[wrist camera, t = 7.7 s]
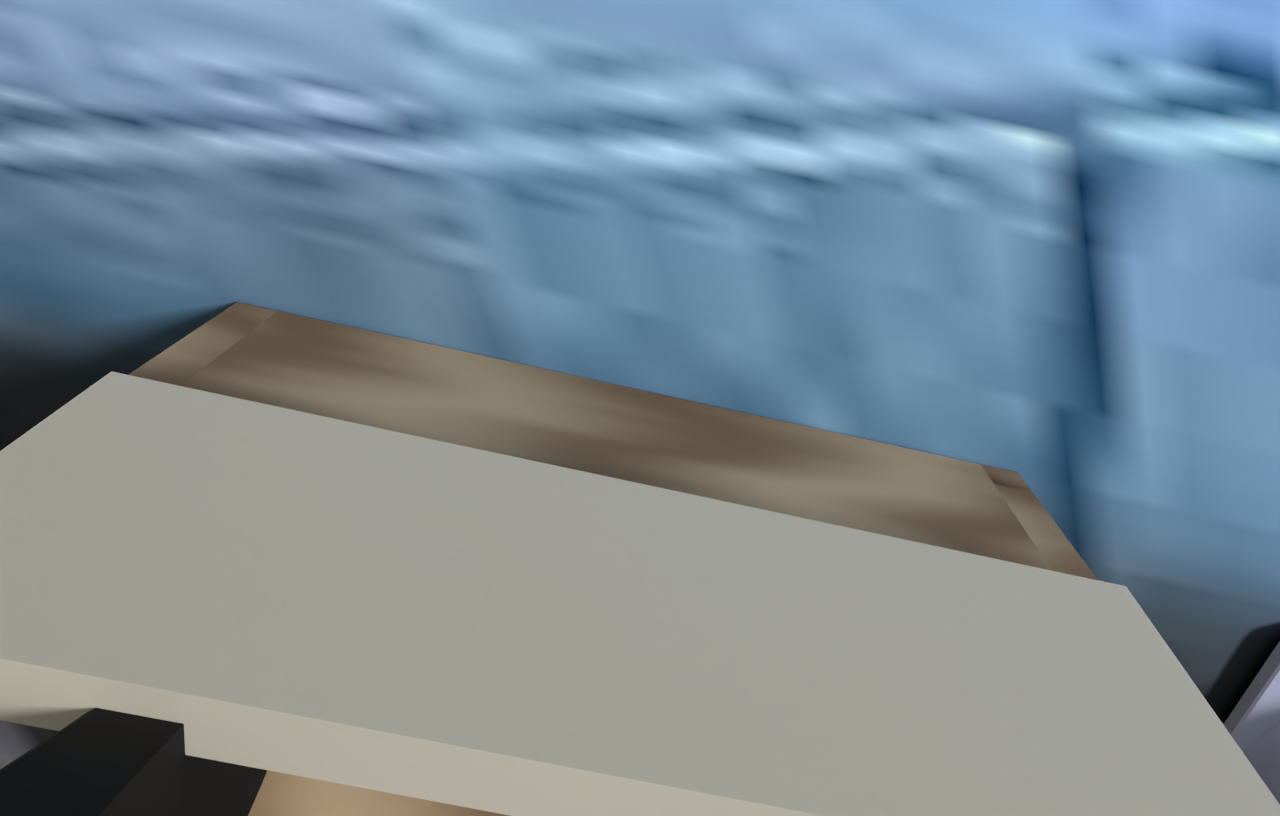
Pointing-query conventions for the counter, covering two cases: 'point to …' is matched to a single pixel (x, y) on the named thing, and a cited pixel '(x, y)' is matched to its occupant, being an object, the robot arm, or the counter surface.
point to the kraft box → (596, 458)
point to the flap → (563, 633)
